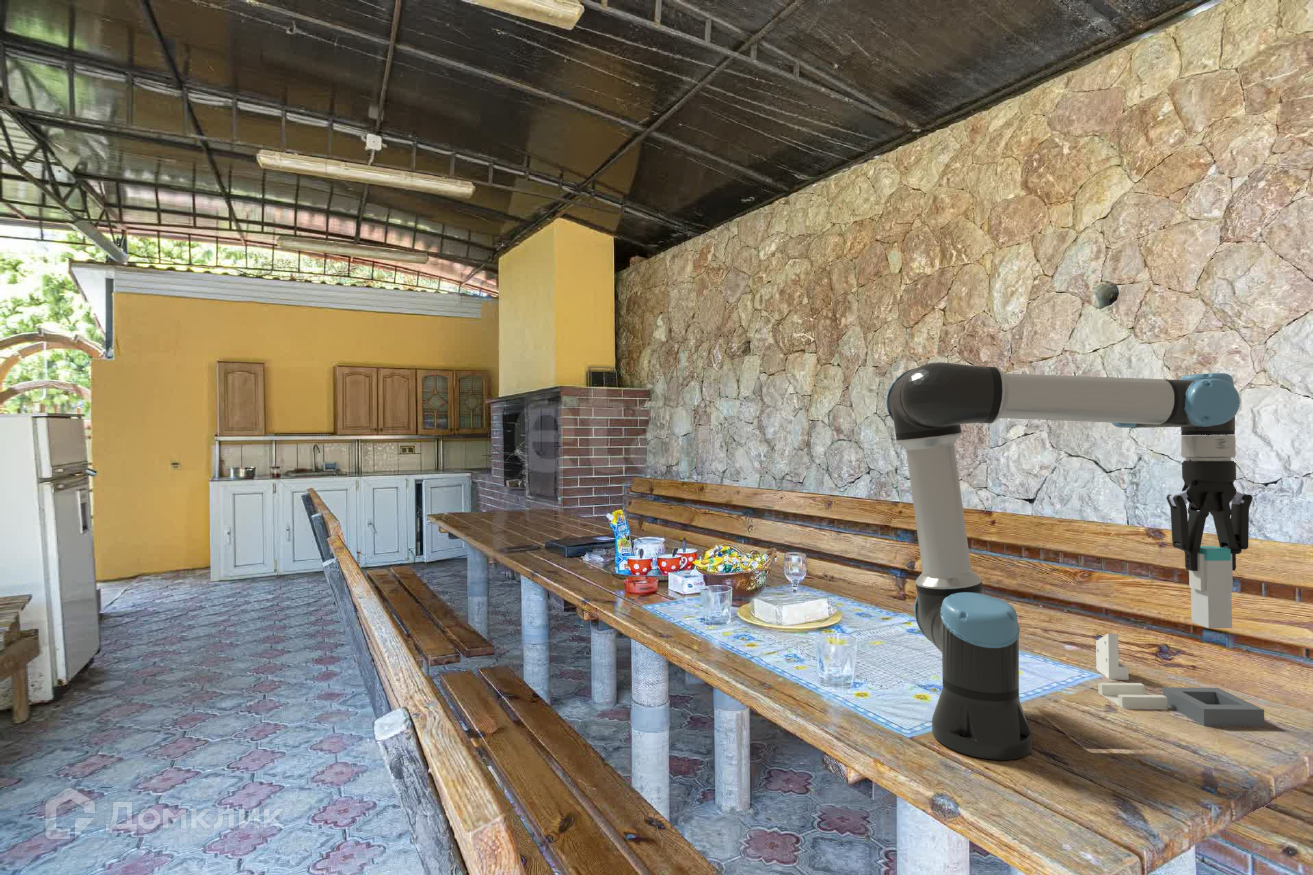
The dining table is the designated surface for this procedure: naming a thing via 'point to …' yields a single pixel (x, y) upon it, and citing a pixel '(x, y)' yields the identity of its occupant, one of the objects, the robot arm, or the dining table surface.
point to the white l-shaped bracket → (1110, 658)
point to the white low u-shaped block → (1131, 696)
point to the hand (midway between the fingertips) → (1210, 588)
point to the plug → (1214, 590)
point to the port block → (1213, 707)
